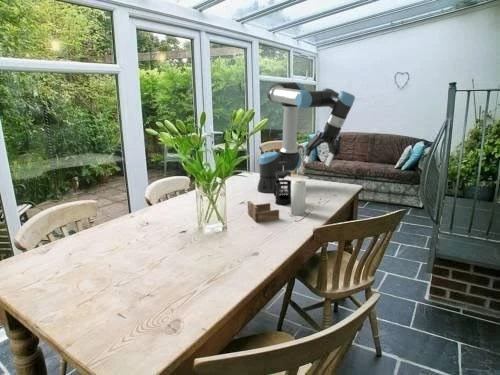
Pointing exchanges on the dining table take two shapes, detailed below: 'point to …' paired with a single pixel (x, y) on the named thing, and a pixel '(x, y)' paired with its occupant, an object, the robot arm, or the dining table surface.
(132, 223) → the dining table surface
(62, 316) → the dining table surface
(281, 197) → the french press
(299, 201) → the roll
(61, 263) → the dining table surface
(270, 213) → the holder
